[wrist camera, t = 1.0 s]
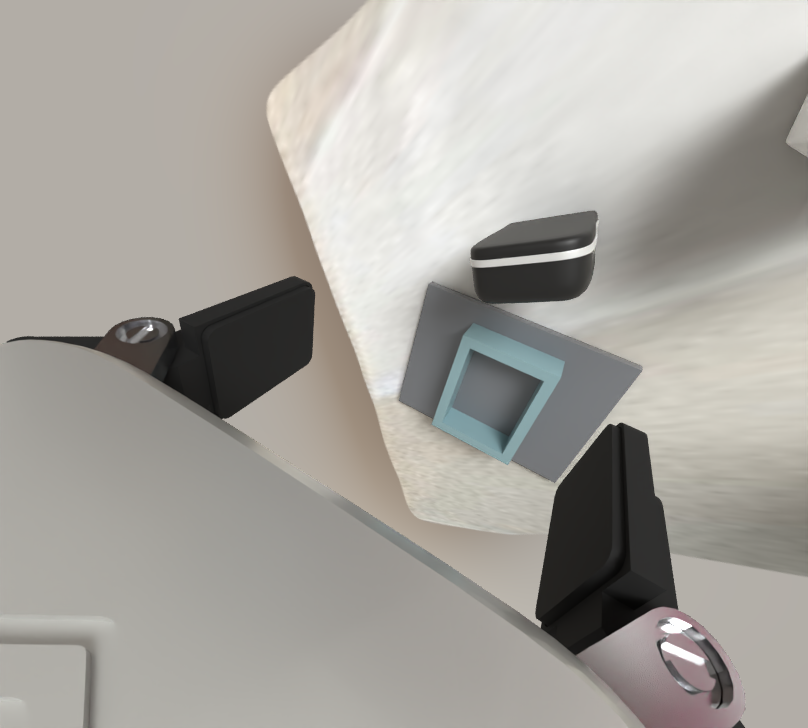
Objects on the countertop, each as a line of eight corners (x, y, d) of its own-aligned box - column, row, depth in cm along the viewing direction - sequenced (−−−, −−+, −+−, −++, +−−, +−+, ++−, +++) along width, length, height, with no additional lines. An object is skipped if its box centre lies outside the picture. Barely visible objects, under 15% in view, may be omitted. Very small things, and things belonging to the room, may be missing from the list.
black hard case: (508, 268, 30) (466, 313, 22) (505, 223, 29) (458, 251, 20) (599, 260, 27) (591, 309, 18) (601, 208, 25) (594, 234, 17)
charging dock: (641, 366, 29) (644, 388, 26) (555, 477, 38) (551, 503, 36) (432, 281, 35) (415, 293, 32) (401, 397, 44) (386, 414, 41)
